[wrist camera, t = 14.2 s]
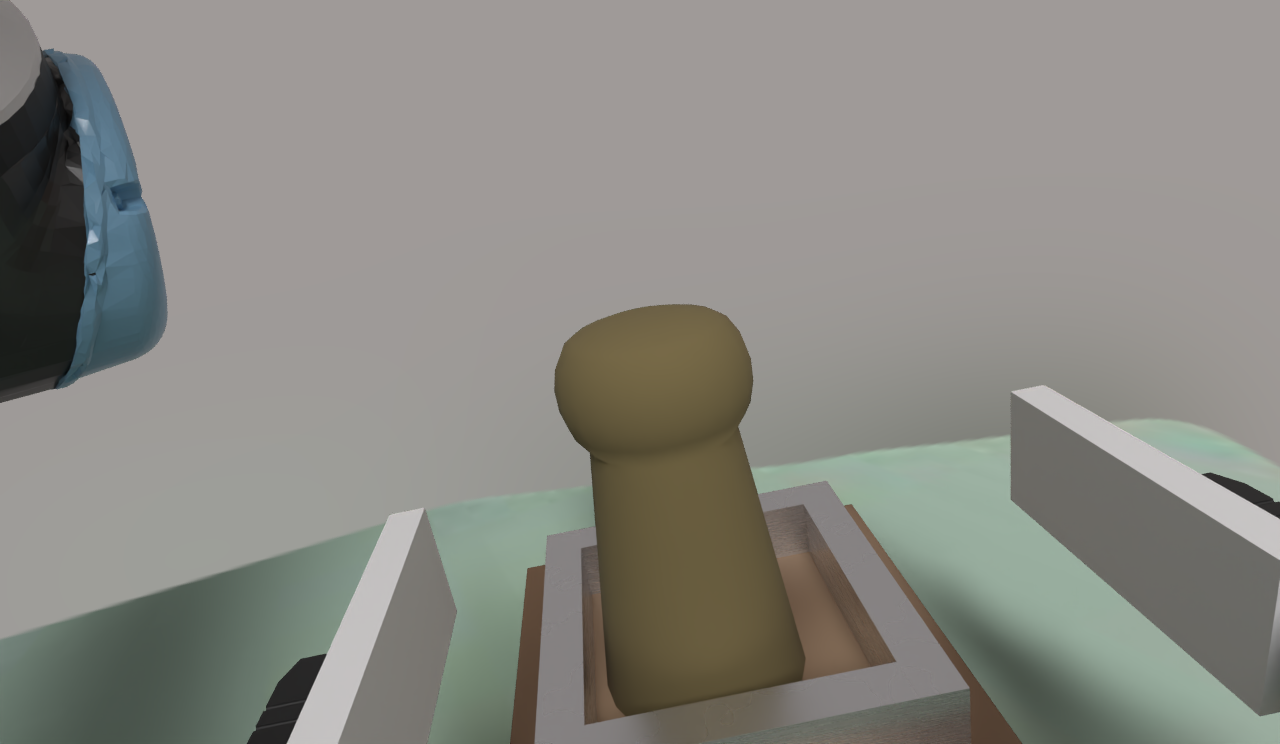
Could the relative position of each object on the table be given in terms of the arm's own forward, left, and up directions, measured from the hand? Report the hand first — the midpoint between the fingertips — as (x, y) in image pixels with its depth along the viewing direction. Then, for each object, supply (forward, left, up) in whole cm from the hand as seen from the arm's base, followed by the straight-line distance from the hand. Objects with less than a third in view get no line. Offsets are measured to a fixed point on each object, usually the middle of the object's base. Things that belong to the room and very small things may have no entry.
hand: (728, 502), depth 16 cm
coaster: (0, +4, -8) cm, 9 cm away
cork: (-1, +4, -8) cm, 9 cm away
